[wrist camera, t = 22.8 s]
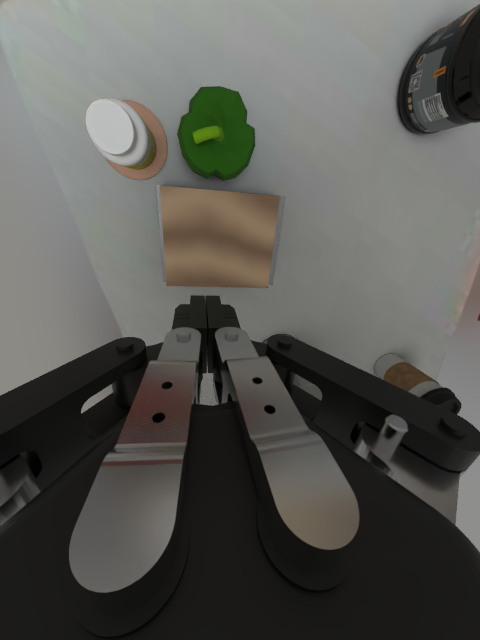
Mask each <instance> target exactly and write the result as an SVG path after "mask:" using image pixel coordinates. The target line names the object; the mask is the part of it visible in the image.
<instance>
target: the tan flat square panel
mask: <svg viewBox="0 0 480 640" xmlns="http://www.w3.org/2000/svg"><path fill="white" fill-rule="evenodd" d="M160 198H161V212H162V227H163V242H164V257H165V271H166V286H201V287H251V288H268V282H269V275H270V267H271V260H272V253H273V245H274V238H275V230H276V223H277V216H278V208H279V201H280V196H275V195H263V194H252V193H241V192H229V191H218V190H206V189H195V188H184V187H172V186H161V185H160Z"/></svg>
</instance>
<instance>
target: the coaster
mask: <svg viewBox="0 0 480 640" xmlns="http://www.w3.org/2000/svg"><path fill="white" fill-rule="evenodd" d="M121 101H123V102H125V103H127V104H128V105H129V106H131V107H132V108H133V109H134V110H135V111H136V112H137V113H138V114H139V115H140V117H141V118H142V119H143V121H144V122H145V123H146V124H147V126H148V127H149V128H150V130H151V132H152V133H153V136H154V138H155V142H156V155H155V158H154V160H153V162H152V163H151V164H150V165H149V166H148V167H146V168H144V169H140V170H136V169H131V168H128V167H124V166H121V165H117V164H115V163H113V162H111V161H110V160H108V159H107V158H106V159H107V160H108V162H109V163H110V164H111V165H112V167H113V168H114V169H116V170H117V171H118V172H119V173H121V174H122V175H124V176H126V177H128V178H132V179H136V180H145V179H149V178H151V177H153V176H155V175H156V174H157V173H159V172H160V170H161V169H162V167H163V166H164V163H165V161H166V157H167V141H166V136H165V133H164V131H163V128H162V126H161V124H160V123H159V121H158V120H157V118H156V117H155V116H154V115H153V113H152V112H151V111H149V110H148V109H147V108H146V107H144V106H143V105H141V104H139V103H137V102H134V101H129V100H121Z"/></svg>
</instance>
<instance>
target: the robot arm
mask: <svg viewBox="0 0 480 640" xmlns="http://www.w3.org/2000/svg"><path fill="white" fill-rule="evenodd" d="M207 366H208V373H213V388H214V393H215V398H216V403H217V405H215V406H209V405H201V404H200V394H201V381H202V378H203V373H206V371H207ZM110 384H112V388H113V393H112V394H110V395H109V396H107V397H106V398H104V399H103V400H101V401H100V402H98V403H97V404H95V405H94V406H92V407H91V408H89V409H88V410H87V411H85V412H83V413H82V414H81V408H82V406H83V404H84V403H85V402H86V401H87V400H88V399H89V398H90V397H92V396H93V395H95V394H97V393H98V392H100V391H101V390H103V389H104V388H106V387H107V386H109V385H110ZM479 455H480V432H479V431H478V430H477V429H476V428H475V427H474V426H473V425H471V424H470V423H469V422H468V421H466V420H465V419H463V418H462V417H460V416H458V415H456V414H454V413H452V412H450V411H448V410H446V409H444V408H441V407H439V406H437V405H435V404H433V403H431V402H429V401H427V400H424V399H422V398H420V397H418V396H416V395H414V394H412V393H410V392H407V391H405V390H403V389H401V388H399V387H397V386H395V385H393V384H390V383H388V382H386V381H384V380H382V379H380V378H378V377H376V376H373V375H371V374H369V373H367V372H365V371H363V370H361V369H359V368H356V367H354V366H352V365H350V364H348V363H346V362H344V361H342V360H339V359H337V358H335V357H333V356H331V355H329V354H327V353H325V352H322V351H320V350H318V349H316V348H314V347H312V346H310V345H308V344H305V343H303V342H301V341H299V340H297V339H295V338H293V337H291V336H289V335H274V336H271V337H270V338H268V339H267V340H265V341H264V342H263V343H259V342H255V341H252V340H250V338H249V336H248V334H247V333H246V332H245V331H244V330H242V329H241V328H240V325H239V321H238V318H237V315H236V312H235V309H234V308H233V307H232V306H230V305H221V301H220V296H206V299H205V296H192V295H191V300H190V304H180V305H179V306H178V307H177V308H176V309H175V315H174V320H173V326H172V330H171V331H169V332H168V333H167V335H166V337H165V340H164V342H162V343H159V344H156V345H151V346H147V347H146V345H145V342H144V341H143V340H142V339H139V338H135V337H125V338H120V339H116V340H114V341H112V342H110V343H108V344H106V345H103V346H101V347H99V348H97V349H95V350H93V351H91V352H89V353H87V354H85V355H83V356H81V357H79V358H77V359H75V360H73V361H71V362H69V363H66V364H65V365H62V366H60V367H58V368H57V369H54V370H52V371H51V372H48V373H46V374H44V375H42V376H40V377H38V378H36V379H34V380H32V381H30V382H27V383H26V384H23V385H21V386H19V387H17V388H15V389H13V390H11V391H9V392H7V393H5V394H3V395H1V396H0V640H480V552H479V551H478V550H477V548H476V547H475V546H474V545H473V544H472V543H471V541H470V540H469V539H468V538H467V537H466V536H465V535H464V534H463V533H462V532H461V531H460V530H459V529H458V528H457V527H456V526H455V523H456V511H457V499H458V487H459V478H460V477H461V476H462V475H463V474H464V472H465V471H466V470H467V469H468V468H469V466H470V465H471V464H472V463H473V462H474V461H475V459H476V458H477V457H478V456H479Z"/></svg>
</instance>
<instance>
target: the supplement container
mask: <svg viewBox="0 0 480 640" xmlns="http://www.w3.org/2000/svg"><path fill="white" fill-rule="evenodd" d="M399 107H400V113H401V116H402V119H403V121H404V123H405V124H406V126H407V127H408V128H409V129H410V130H412V131H413V132H415V133H418V134H431V133H436V132H438V131H441V130H445V129H449V128H453V127H457V126H461V125H465V124H469V123H477V122H480V4H479V5H478V6H476V7H475V8H473V9H472V10H470V11H469V12H467V13H466V14H464V15H463V16H461V17H459V18H458V19H456V20H455V21H453V22H452V23H450V24H449V25H447V26H446V27H444V28H442V29H440V30H438V31H437V32H435V33H434V34H433V35H431V36H430V37H429V38H428V39H427V40H426V41H425V42H424V43H423V44H422V45H421V46H420V47H419V49H418V50H417V51H416V53H415V54H414V56H413V57H412V59H411V60H410V62H409V64H408V66H407V68H406V71H405V73H404V76H403V79H402V83H401V87H400V95H399Z"/></svg>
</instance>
